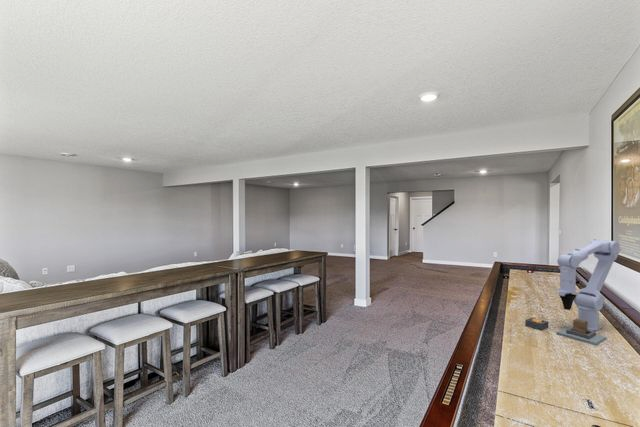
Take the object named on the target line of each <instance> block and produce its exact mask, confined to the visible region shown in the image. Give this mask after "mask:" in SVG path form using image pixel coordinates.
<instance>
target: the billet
mask: <svg viewBox="0 0 640 427" xmlns="http://www.w3.org/2000/svg"><path fill="white" fill-rule="evenodd" d="M572 327H573V331H576V332H579V333H583V334H588V330H589V329H588V321H585V320H581V319H578V318H574V319H573V322H572Z"/></svg>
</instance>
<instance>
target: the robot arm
mask: <svg viewBox="0 0 640 427" xmlns="http://www.w3.org/2000/svg"><path fill="white" fill-rule="evenodd" d="M620 251H621V246H620V243H619V242H618V241H616V240H603V239H602V240H601V239H593V240H590V241H589V244H587V245H585V247H583V248H577V247H576V248H575V249H574V250H572V251H569V252H568V253H567V254H561V255H559V256H558V259H557V260H556V261H557V265H558V269H559V270H560V272H559V276H560V278H559V279H560V281H559V284H560V285H559V287H557V288H556V290H557V291H558V296H559V298H560V299H561V302H562V306H563V309H564V310H568V311H570V310H571V309H572V306H573V303H574V304H575V306H576V308H577V310H578V311H577V319H581V320H585V321H588V330H589V331H594V332H596V331H598V330H600V329H602V328H603V326H601V325H600V313H599V312H600V310H602V308H603V306H604V301H605V297H604V295H603V294H602V293H601V290H602V288H603V285H604V283H605V282H606V279H607V277H608V275H609V273H610V271H611V268H612V267H613V264H614V262H615V261H617V258H618V256H619V254H620ZM592 254H593V256H594V257H595V258H596V259H597V263H596V265H595V267H594V268H593V272H592V274H591V276H590V278H589V280H588V282H587V284H586V287H583V288H580V289H578V291H577V288H576V284H577V283H576V282H577V280H576V277H577V268H578V267H579V266H580V264H581V263H582V262H583V261H586V260H587V259H588V258H589V255H592Z"/></svg>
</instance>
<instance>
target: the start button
mask: <svg viewBox="0 0 640 427" xmlns="http://www.w3.org/2000/svg"><path fill="white" fill-rule="evenodd" d="M539 319H540V318H537V319H532V321H535V322H538V323H542V320H543V319H540V320H539Z"/></svg>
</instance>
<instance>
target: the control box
mask: <svg viewBox="0 0 640 427" xmlns="http://www.w3.org/2000/svg"><path fill="white" fill-rule="evenodd" d="M532 319H539V320H542V323H538V322H535V321H532ZM524 321H525V322H524V324H525V327H529V328H532V329H535V330H539V331H544V330H546V329H549V321H547V320H544V319H540V318H536V317H529V318H526V319H525V320H524Z"/></svg>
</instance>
